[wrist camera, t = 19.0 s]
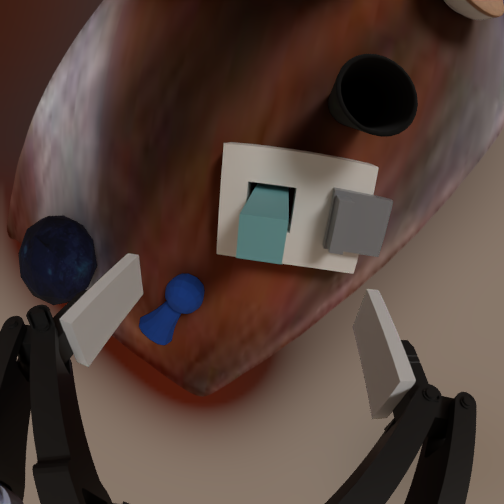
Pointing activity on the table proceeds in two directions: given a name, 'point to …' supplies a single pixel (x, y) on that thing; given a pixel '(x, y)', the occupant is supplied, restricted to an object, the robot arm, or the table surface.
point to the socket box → (304, 201)
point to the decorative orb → (57, 259)
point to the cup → (373, 96)
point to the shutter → (356, 223)
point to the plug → (264, 224)
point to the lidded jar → (477, 8)
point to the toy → (173, 308)
